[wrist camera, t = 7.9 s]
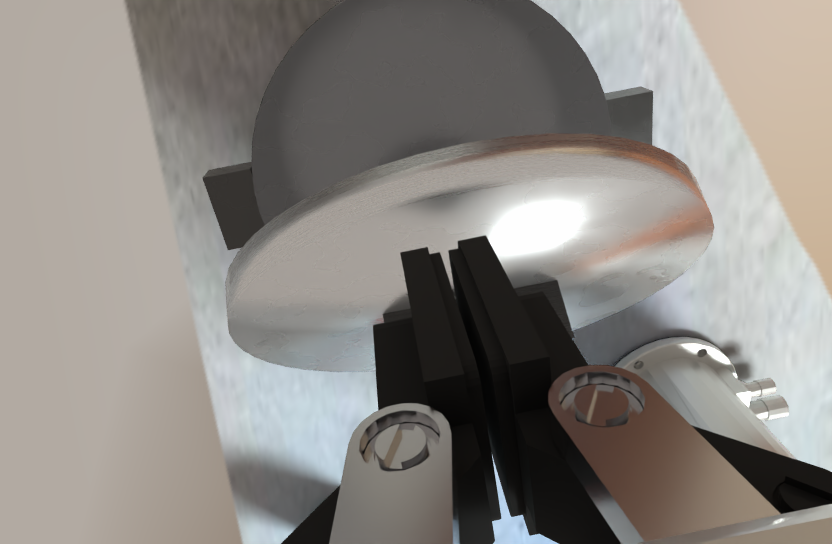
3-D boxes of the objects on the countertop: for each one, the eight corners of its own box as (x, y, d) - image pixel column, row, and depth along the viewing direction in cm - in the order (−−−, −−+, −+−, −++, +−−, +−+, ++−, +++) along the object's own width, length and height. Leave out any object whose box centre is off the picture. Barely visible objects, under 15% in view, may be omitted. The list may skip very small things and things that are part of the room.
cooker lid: (808, 76, 16) (877, 201, 14) (623, 302, 33) (645, 368, 32) (117, 210, 16) (114, 349, 14) (299, 366, 33) (306, 434, 32)
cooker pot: (572, -55, 36) (664, -72, 25) (583, 214, 44) (655, 289, 33) (208, 15, 35) (143, 28, 25) (287, 272, 44) (263, 365, 33)
